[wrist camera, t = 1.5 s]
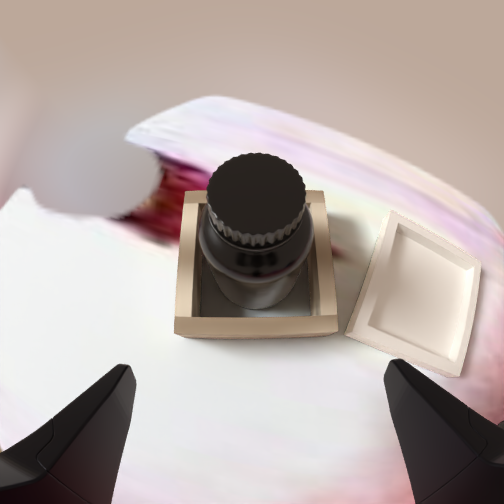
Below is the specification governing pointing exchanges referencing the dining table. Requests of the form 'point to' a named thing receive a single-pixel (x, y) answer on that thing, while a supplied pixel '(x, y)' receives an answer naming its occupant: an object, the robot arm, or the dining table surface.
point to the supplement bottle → (256, 229)
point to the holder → (254, 327)
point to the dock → (417, 297)
